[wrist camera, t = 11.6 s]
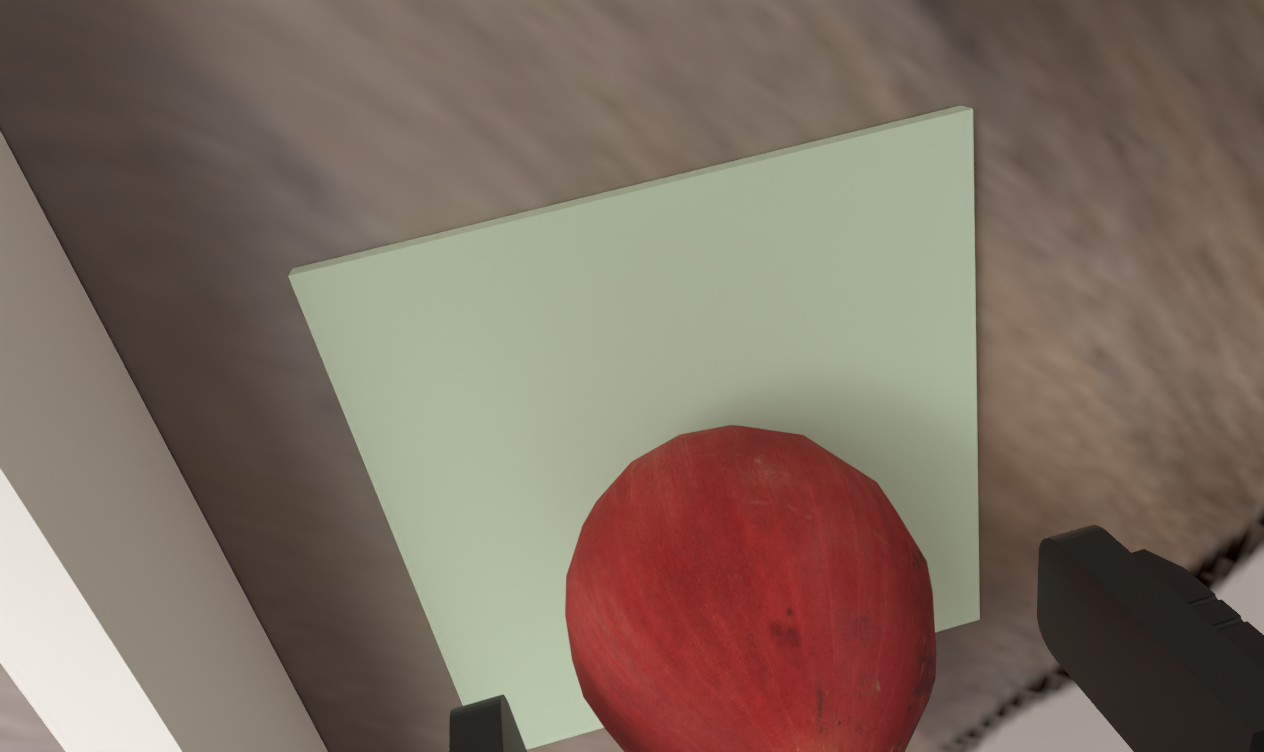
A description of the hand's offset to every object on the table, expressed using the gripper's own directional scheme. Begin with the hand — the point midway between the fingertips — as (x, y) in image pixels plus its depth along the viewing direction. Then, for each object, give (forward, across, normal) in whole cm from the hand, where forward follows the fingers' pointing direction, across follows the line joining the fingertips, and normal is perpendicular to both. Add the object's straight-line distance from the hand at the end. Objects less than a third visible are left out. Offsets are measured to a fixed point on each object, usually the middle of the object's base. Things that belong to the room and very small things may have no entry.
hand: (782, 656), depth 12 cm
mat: (+6, 0, 0) cm, 6 cm away
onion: (+6, 0, 0) cm, 6 cm away
